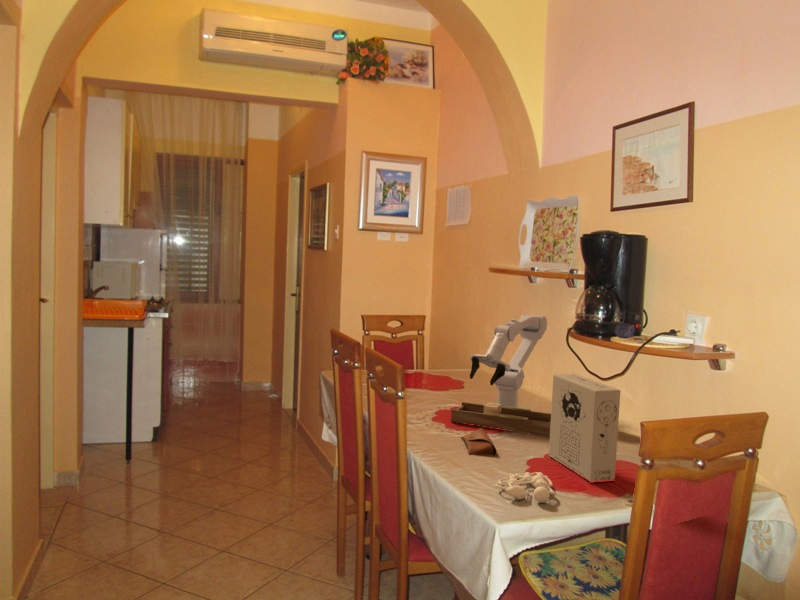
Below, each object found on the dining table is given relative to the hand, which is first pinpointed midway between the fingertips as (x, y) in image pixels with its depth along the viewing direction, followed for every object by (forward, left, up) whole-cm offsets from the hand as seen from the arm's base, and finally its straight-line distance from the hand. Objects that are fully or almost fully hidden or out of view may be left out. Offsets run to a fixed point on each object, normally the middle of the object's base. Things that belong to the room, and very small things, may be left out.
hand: (480, 380), depth 215 cm
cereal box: (+31, +38, -16) cm, 51 cm away
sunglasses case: (+25, +6, -16) cm, 31 cm away
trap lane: (-2, +8, -15) cm, 17 cm away
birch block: (-2, +4, -13) cm, 14 cm away
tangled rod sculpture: (+54, +27, -16) cm, 62 cm away
